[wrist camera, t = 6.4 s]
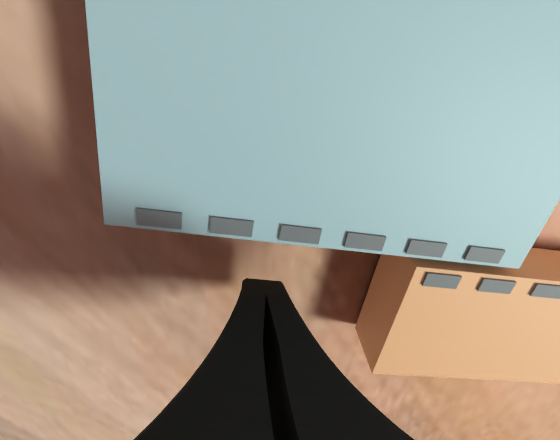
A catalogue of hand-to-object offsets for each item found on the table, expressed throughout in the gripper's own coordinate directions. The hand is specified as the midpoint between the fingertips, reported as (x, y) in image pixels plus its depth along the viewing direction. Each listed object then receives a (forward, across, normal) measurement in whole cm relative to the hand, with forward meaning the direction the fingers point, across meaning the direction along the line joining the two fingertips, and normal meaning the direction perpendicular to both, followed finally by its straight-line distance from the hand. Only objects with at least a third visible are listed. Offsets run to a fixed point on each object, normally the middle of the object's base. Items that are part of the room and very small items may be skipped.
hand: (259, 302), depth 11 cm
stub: (+2, -10, 0) cm, 10 cm away
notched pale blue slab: (+2, -2, -7) cm, 7 cm away
